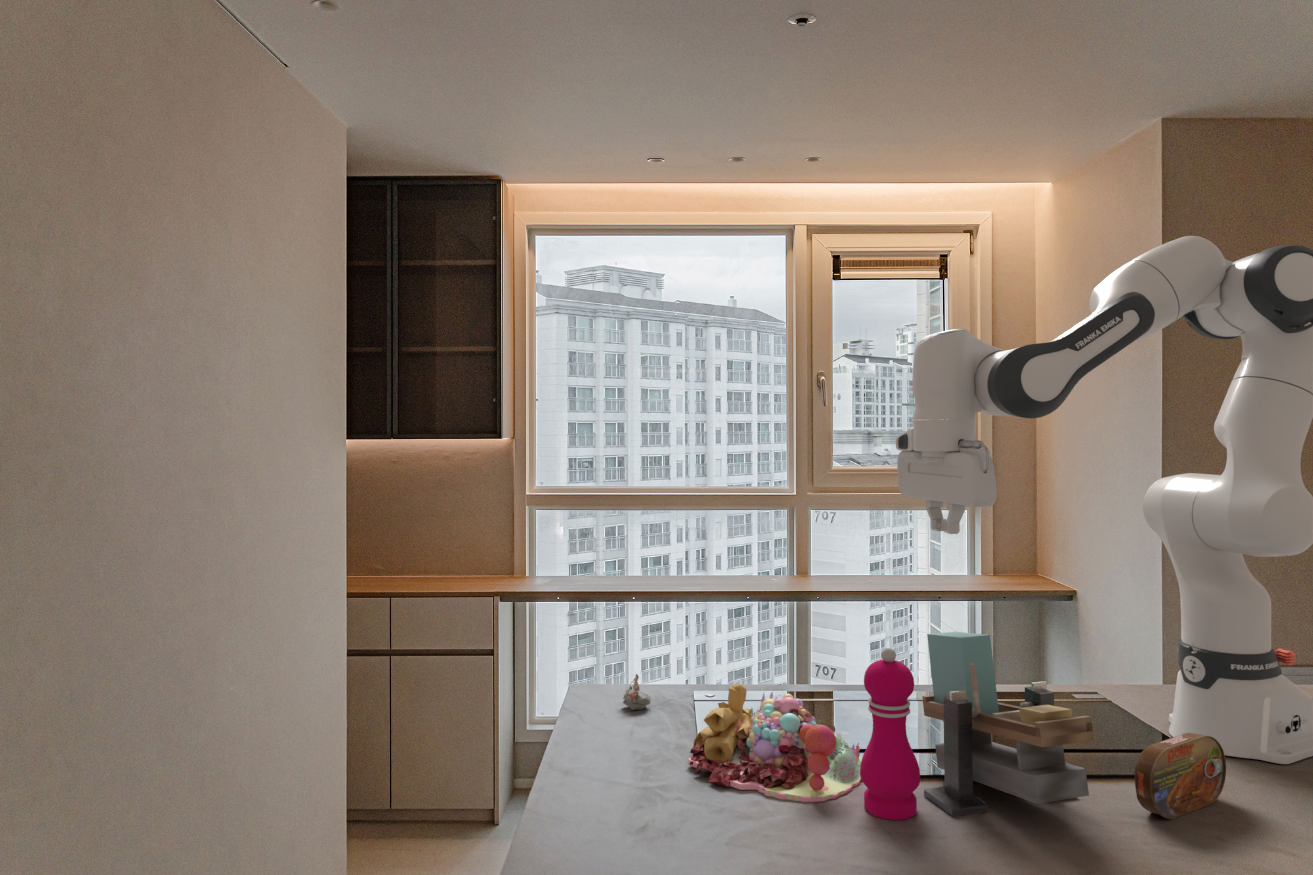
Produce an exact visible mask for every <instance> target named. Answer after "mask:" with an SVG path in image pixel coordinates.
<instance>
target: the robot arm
mask: <svg viewBox="0 0 1313 875" xmlns="http://www.w3.org/2000/svg"><path fill="white" fill-rule="evenodd" d="M1089 311H1090V315H1089V316H1087V317H1086V318H1084V319H1082V321H1080V322H1078V323H1076V324H1075V325H1074V326H1072V327H1071V328H1070V329H1067V330H1066V331H1064V332H1063V333H1062V334H1060V335H1059V336H1058V337H1056V338H1054V339H1053V340H1050V341H1047V342H1040V343H1039V342H1038V343H1032V344H1026V345H1021V346H1018V347H1015V348H1011V349H1005V350H1004V349H1002V348H999V347H996V346H993V345H991V344H989V343H987V342H984V341H983V340H981V339H980V338H978V337H976V336H975V335H973V334H972V333H971V332H970V331H969V330H968V329H967V328H966V329H965V328H952V329H949V330H943V331H939V332H935V333H931V334H928V335H925V336H924V337H922V338H920V339H919V341H918V342H917V343H916V345H915V349H914V353H913V363H912V382H911V383H912V385H911V386H912V395H913V397H914V403H915V404H914V405H915V406H914V412H913V414H912V415H913V416H912V427H910V428H909V429H907V430H906V431H905V432H903V433H901V434H900V435H897V437H896V438H895V447H896V450H897V451H900V452H898V455H897V460H896V461H897V463H896V465H897V466H896V468H897V470H896V471H897V487H898V490H899V492H900V495H901V497H905V498H912V499H913V498H914V499H918V500H919V499H920V500H924V501H925V509H926V511H927V514H928V517H929V519H930V529H931V530H932V531H935V532H944V533H945V534H949V535H957V534H959V533H960V529H961V528H960V527H961V526H960V522H961V521H962V519H963V516H964V513H965V511H966V507H971V508H984V507H986V508H987V507H992V506H994V505H995V503H996V500H997V499H998V498H997V497H998V493H997V491H998V490H997V483H996V482H997V481H996V480H997V479H996V472H995V471H996V470H995V465H994V461H993V458H992V457H991V453H990V449H988V447H987V446H986V444H984V442H983V441H982V440H978V439H976V414H977V413H981V414H982V413H983V414H985V415H988V416H995V417H1018V418H1023V419H1038V418H1043V417H1046V416H1049V415H1050V414H1052V413H1054V412H1055V411H1056V410H1057V409H1058V408H1060V407H1061V406H1062V405H1063V403H1064V402H1065V401H1066V399H1067V398H1068V397H1069V395H1070V394H1071V393H1072V391H1073V389H1074V388H1075V387H1076V385H1077V384H1078V383H1079V381H1080V380H1082V378H1084V377H1085V376H1086V375H1088V374H1089V373H1090V372H1092V371H1093V370H1094V369H1096V368H1098V367H1099V366H1100V365H1102V364H1103V363H1105V362H1106V361H1107V360H1110V358H1112V357H1113V356H1115V355H1117V354H1118V353H1120V352H1121V351H1122V350H1123V349H1125V348H1126V347H1129V345H1131V344H1133V343H1135V342H1138V341H1141V340H1143V339H1146V338H1148V337H1149V336H1151V335H1154V334H1156V333H1157V332H1159V331H1162V329H1164V328H1166V327H1168V326H1169V325H1171V324H1173V323H1175V322H1176V321H1178V319H1180V318H1182V317H1183V318H1184V320H1185V322H1186V323H1187V324H1188V326H1189V327H1190V328H1191V329H1192V330H1193V331H1194V332H1196V333H1197V334H1198V335H1200V336H1202V337H1204V338H1207V339H1211V340H1233V339H1237V338H1239V337H1240V340H1241V344H1242V351H1241V352H1242V353H1241V358H1240V360H1241V362H1240V363H1239V365H1238V366H1237V369H1236V371H1235V373H1234V375H1233V378H1232V380H1231V382H1230V384H1229V387H1228V389H1227V391H1226V395H1225V397H1224V399H1223V401H1222V404H1221V407H1220V409H1219V412H1218V415H1217V416H1216V419H1215V421H1214V424H1213V431H1214V436H1215V438H1216V439H1217V440H1218V441H1219V443H1220V444H1221V445H1222V446H1223V447H1224V448H1225V449H1226V462H1225V463H1226V464H1225V469H1223V472H1222V473H1221V474H1213V473H1212V474H1210V473H1196V472H1188V473H1180V474H1174V475H1169V476H1165V477H1161V478H1159V479H1157V480H1156V481H1154V482H1153V483H1152V484H1151V485H1150V486H1149V487H1148V489H1147V491H1146V493H1145V495H1144V498H1143V502H1142V503H1143V504H1142V511H1143V515H1144V519H1145V521H1146V523H1147V525H1148V526H1149V527H1150V529H1151V530H1152V531H1153V532H1155V533H1156V535H1157V536H1158V538H1160V539H1159V540H1161V542H1162V543H1163V545H1164V547H1165V549H1166V551H1167V553H1168V554H1167V555H1168V556H1169V558H1170V561H1171V563H1172V566H1173V569H1174V572H1175V576H1176V580H1177V584H1178V587H1179V588H1178V589H1179V597H1180V622H1181V623H1180V624H1181V625H1180V628H1181V629H1180V630H1181V631H1180V634H1181V637H1180V638H1179V640H1178V641H1177V643H1178V644H1177V646H1178V647H1177V650H1176V653H1177V663H1178V665H1179V670H1178V672H1177V676H1176V684H1175V691H1174V692H1175V693H1174V702H1173V711H1172V712H1170V713H1169V715H1168V722H1169V723H1170V726H1169V728H1168V733H1169V734H1170V735H1171V737H1172V738H1173V737H1176V736H1179V735H1182V734H1185V733H1195V734H1199V735H1203V736H1211V737H1213V738H1215V739H1216V740H1217V741H1218V742H1219V743H1220V745H1221V747H1222V749H1223V751H1224V755H1225V756H1228V757H1233V758H1234V757H1235V758H1241V759H1243V758H1244V759H1253V760H1261V761H1264V762H1270V763H1274V764H1280V765H1290V764H1292V763H1296V762H1298V761H1302V760H1304V759H1305V760H1306V759H1307V758H1310V757H1313V697H1311V695H1309V694H1308V693H1306V692H1305V691H1304V690H1302V689H1301V688H1300V687H1298V686H1297V684H1295V683H1294V682H1292V681H1291V680H1290V679H1288V678H1287V677H1286V676H1284V675H1285V674H1283V670H1282V668H1281V665H1280V663H1283V664H1286V665H1289V666H1293V665H1294V664H1295V662H1296V658H1297V657H1296V653H1295V652H1294V651H1292V650H1285V649H1283V648H1282V647H1281V648H1277V649H1274V648H1272V599H1271V595H1270V594H1269V591H1268V590H1267V589H1266V587H1265V586H1264V585H1262V583H1260V582H1259V581H1258V579H1256V578H1255V577H1254V575H1253V574H1252V573H1251V571H1250V570H1249V568H1248V566H1247V564H1246V561H1245V558H1244V556H1243V555H1246V556H1251V557H1257V558H1258V557H1259V558H1269V557H1271V558H1272V557H1290V556H1297V555H1299V554H1302V553H1304V552H1305V551H1307V550H1308V549H1309V548H1311V546H1312V545H1313V495H1312V494H1311V492H1310V491H1309V490H1308V489H1307V487H1306V486H1305V484H1304V481H1303V477H1302V468H1301V460H1302V452H1303V447H1304V444H1305V441H1306V437H1307V436H1308V433H1309V429H1310V428H1311V423H1312V421H1313V249H1311V248H1309V247H1307V246H1304V245H1303V246H1302V245H1295V244H1291V245H1290V244H1287V245H1286V244H1285V245H1279V246H1273V247H1269V248H1266V249H1264V250H1262V251H1260V252H1258V253H1254V254H1251V255H1248V256H1245V257H1242V258H1240V259H1237V260H1235V261H1231V260H1228V259H1226V258H1225V257H1224V255H1223V253H1222V251H1221V250H1220V249H1219V247H1218V246H1217V245H1216V244H1214V243H1213V242H1212V241H1211V240H1209V239H1207V238H1204V237H1202V236H1198V235H1197V236H1196V235H1185V236H1182V237H1178V238H1175V239H1173V240H1171V241H1167V242H1165V243H1163V244H1161V245H1158V246H1156V247H1154V248H1151V249H1150V250H1148V251H1145V252H1144V253H1142V254H1140V255H1138V256H1136V257H1135V258H1133V259H1131V260H1130V261H1128V262H1126V263H1124V264H1123V265H1121V266H1120V267H1118V268H1117V269H1116V270H1114V271H1112V272H1111V273H1110V274H1108V275H1107V276H1106V277H1105V278H1104V279H1102V280H1101V282H1099V284H1097V285H1096V286H1095V287H1094V288H1093V289H1092V290H1091V295H1090V297H1089ZM943 503H944V504H945V503H946V511H948V514H947V518H944V514H943V512H942V511H943V510H942V508H943V505H944V504H943Z"/></svg>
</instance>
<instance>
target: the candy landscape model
mask: <svg viewBox="0 0 1313 875" xmlns="http://www.w3.org/2000/svg"><path fill="white" fill-rule="evenodd" d="M773 696H774V694H773V691H772V692H771V693H770V694H769V698H767V699H765V698H766V697H765V693H763V694H762V696H761V702H760V707H759V706H758V708H757V709H756V710H755V711H754V709H753V707H751V708H744V705H745V702H746V700H747V699H746V698H747V688H746V686H745V685H743V684H740V683H735V684H733V685H730V686H729V688H728V695H727V702H724V701H722V702H718V703H717V705H718V707H717V708H714V709H712V710H711V711H710V712H708V713H707V714H706V716H705V718H704V719H703V722H705V724H706V725H707V727H705V728H703V729H702V730H700V731H699V732H698V734H697V735H696V737H695V738H694V740H693V747H691V748H690V749H691V750H690V751H689V753H690V755H691V756H690V757H688V765H689V766H690V767H693V768H695V769H694V772H693V776H694V775H695V776H696V775H698V774H702V773H705V772H710V773H711V774H710V776H709V778H708V780H707V784H713V785H717V786H722V787H726V788H727V787H732V788H735V789H737V790H740V791H743V790H744V791H746V790H747V791H748V790H750V791H751V790H752V791H753V790H757V792H759V793H760V794H764V796H766V797H773V798H775V799H778V800H788V801H795V802H797V801H798V802H802V803H809V802H810V803H813V802H826V801H827V800H831V799H837V798H838V797H840V796H843V795H847V794H848V793H850V792H851V791H853V788H854V787H857V786H859V785H860V784H861V783H860V782H862V780H861V777H860V766H861V761H862V758H863V757H861V755H860V750H861V748H860V746H859V744H860V742H858V743H857V744H856V745H855V743H853V745H851V746H852V747H851V746H850V745H849V744H848V742H846V741H845V739H843V737H842V736H841V733H836V732H835V731H833V730H832V729H831V728H830V727H829V726H827V725H824V724H817V721H816V718H815V716H813V715H812V714H811V713H810V711H807V709H806V708H804V702H803V700H801V699H800V698H794V696H793V695H792V694H791V693H785V694H784V695H783V696H780V694H779V695H777V696H776V697H775V698H773Z"/></svg>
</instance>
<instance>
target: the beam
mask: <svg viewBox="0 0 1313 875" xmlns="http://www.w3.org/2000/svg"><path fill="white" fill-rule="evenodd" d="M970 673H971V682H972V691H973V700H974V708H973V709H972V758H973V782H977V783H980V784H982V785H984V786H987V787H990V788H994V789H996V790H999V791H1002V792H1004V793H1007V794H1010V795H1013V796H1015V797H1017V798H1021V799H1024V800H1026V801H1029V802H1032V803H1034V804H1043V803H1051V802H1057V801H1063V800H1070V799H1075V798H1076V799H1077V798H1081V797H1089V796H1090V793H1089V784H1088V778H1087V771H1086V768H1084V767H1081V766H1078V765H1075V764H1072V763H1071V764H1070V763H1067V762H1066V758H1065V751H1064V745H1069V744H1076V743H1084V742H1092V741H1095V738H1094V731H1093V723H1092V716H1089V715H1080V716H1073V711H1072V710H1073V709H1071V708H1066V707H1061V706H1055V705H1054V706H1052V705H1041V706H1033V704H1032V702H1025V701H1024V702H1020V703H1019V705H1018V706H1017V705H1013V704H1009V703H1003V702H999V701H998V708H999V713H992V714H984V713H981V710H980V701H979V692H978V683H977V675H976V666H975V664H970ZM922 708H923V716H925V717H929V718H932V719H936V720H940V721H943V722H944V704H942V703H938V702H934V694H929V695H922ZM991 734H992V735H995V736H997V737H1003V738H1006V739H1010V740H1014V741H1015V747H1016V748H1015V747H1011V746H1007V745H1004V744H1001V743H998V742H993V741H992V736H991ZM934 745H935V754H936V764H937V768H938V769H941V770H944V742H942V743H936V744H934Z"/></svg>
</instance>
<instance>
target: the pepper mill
mask: <svg viewBox="0 0 1313 875" xmlns="http://www.w3.org/2000/svg"><path fill="white" fill-rule="evenodd" d="M880 657H881V659H879V660H876V661H873V662H872V663H871V664H869V665H868V667H867V668H866V670H865V672H864V676H863V686H864V689H865V691H866V692H867V693H868V695H869V696H870V697H869V698H868V700H867V701H868V704H869V705H868V707H867V709H868V711H869V712H870V713H871V718H872V733H871V736H870V740H869V742H868V744H867V746H866V748H865V751H864V753H863V755H862V757H861V758H862V761H861V766H860V777H861V782H862V783H863V784H864V785H865V787H866V789H865V790H864V794H863V801H864V802H863V804H864V809H865V810H866V812H868V813H869V814H871V815H872V816H874V817H877V818H880V819H883V820H891V821H900V820H901V821H902V820H907V819H910V818H912V817H913V816H915V815H916V814H917V810H918V809H917V808H918V806H917V804H918V803H917V796H916V794H915V793H914V792H915V791H916V789H917V788H918V787H919V786H920V783H921V772H920V766H919V762H918V759H917V757H916V755H915V754H914V751H913V749H912V747H911V745H910V742H909V740H908V734H907V724H906V723H907V717H908V715H910V714H911V708H910V706H911V702H910V700H909V699H908V698H910V696H911V695H912V694H913V693H914V689H915V679H914V674H913V673H912V670H910V668H909V667H908V666H907V665H905V663H903V662H901V661H898V660H896V657H897V654H896V652H895V650H894V649H893V648H891V647H886V648H884V649H883V650H882V651H881V652H880Z"/></svg>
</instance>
